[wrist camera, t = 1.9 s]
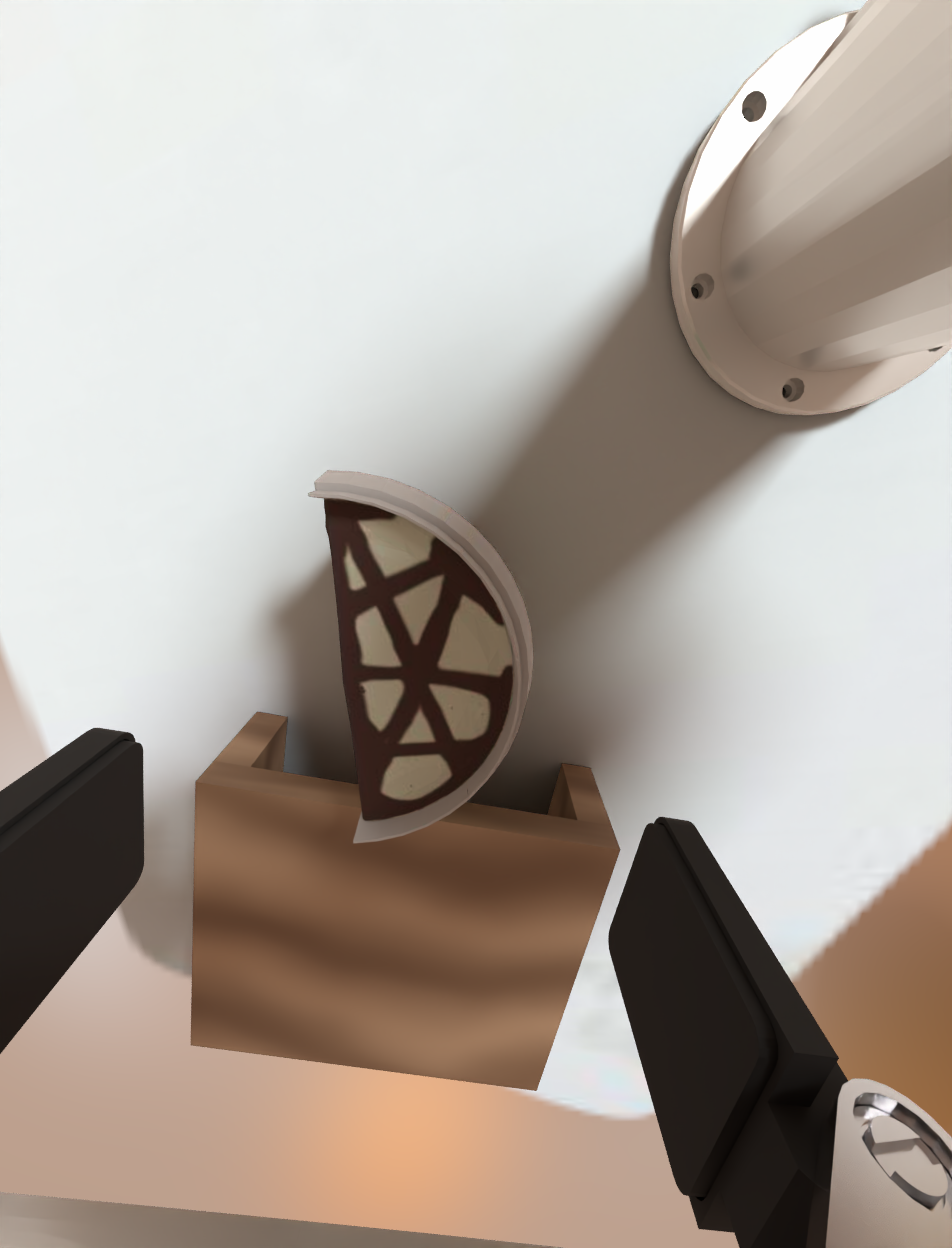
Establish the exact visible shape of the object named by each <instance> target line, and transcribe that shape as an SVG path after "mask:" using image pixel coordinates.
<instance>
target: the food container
mask: <svg viewBox="0 0 952 1248" xmlns="http://www.w3.org/2000/svg"><path fill="white" fill-rule="evenodd" d="M314 483H315V491H313V492H310V493H308V496H309V497H317V498H324V508H325V514H326V530H327V533H328V537H329V543H330V549H331V556H332V565H333V574H334V584H335V593H336V603H337V613H338V624H339V636H340V649H341V662H342V674H343V684H344V690H345V696H346V702H347V708H348V713H349V719H350V726H351V732H352V739H353V746H354V753H355V761H356V770H357V778H358V786H359V794H360V802H361V810H362V811H361V815H360V818H359V822H358V826H357V829H356V833H355V836H354V840H353V843H364V842H376V841H381V840H386V839H390V838H395V837H399V836H404V835H406V834H409V833H412V832H414V831H417V830H420V829H422V828H425V827H428V826H429V825H431V824H433V823H435V822H437V821H439V820H440V819H442V818H444V817H446V816H448V815H449V814H451V813H452V812H453V811H455V810H456V809H457V808H459V807H460V806H461V805H463V804H464V803H465V802H467V801H468V800H469V799H470V798H471V797H472V796H473V795H474V794H475V793H476V792H477V791H478V790H479V789H480V788H481V787H482V786H483V785H484V784H485V783H486V781H487V780H488V779H489V778H490V776H491V775H492V774H493V773H494V772H495V771H496V769H497V768H498V766H499V765H500V763H501V762H502V760H503V759H504V758H505V756H506V755H507V753H508V752H509V750H510V747H511V745H512V743H513V741H514V739H515V737H516V735H517V732H518V730H519V728H520V724H521V721H522V717H523V713H524V710H525V706H526V702H527V699H528V695H529V691H530V687H531V683H532V672H533V660H534V654H533V642H532V630H531V626H530V622H529V618H528V614H527V610H526V607H525V603H524V600H523V598H522V596H521V594H520V591H519V589H518V587H517V585H516V582H515V580H514V578H513V576H512V574H511V573H510V571H509V569H508V568H507V566H506V565H505V563H504V562H503V560H502V559H501V557H500V556H499V554H498V553H497V551H496V550H495V549H494V548H493V547H492V545H491V544H490V543H489V542H488V541H487V540H486V539H485V538H484V537H483V536H482V534H481V533H480V532H479V531H478V530H477V529H476V528H475V527H474V526H473V525H472V524H470V523H469V522H468V521H467V520H465V519H464V518H463V517H462V516H460V515H459V514H458V513H457V512H455V511H454V510H453V509H452V508H450V507H449V506H447V505H445V504H444V503H442V502H440V501H438V500H437V499H435V498H433V497H431V496H430V495H428V494H426V493H424V492H423V491H421V490H418V489H416V488H413V487H410V486H408V485H405V484H403V483H400V482H397V481H395V480H392V479H389V478H384V477H379V476H375V475H370V474H365V473H360V472H350V471H331V470H328V471H326V472H325V473H324V474H323V475H322V476H321V477H319V478H318V479H317V480H316V481H315V482H314Z"/></svg>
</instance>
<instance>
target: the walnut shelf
mask: <svg viewBox="0 0 952 1248" xmlns="http://www.w3.org/2000/svg"><path fill="white" fill-rule="evenodd" d="M287 718H288V717H285V716H279V715H273V714H267V713H262V712H256V713H255V715H254V716H253V717H252V718H251V719H250V720H249V721H248V723H247V724H246V725H245V726H244V727H243V728H242V729H241V731H240V732H239V733H238V734H237V735H236V736H235V737H234V739H233V740H232V741H231V742H230V743H229V744H228V745H227V747H226V748H225V749H224V750H223V751H222V752H221V753H220V755H219V756H218V757H217V758H216V759H215V760H214V761H213V763H212V764H211V765H210V766H209V767H208V768H207V769H206V771H205V772H204V773H203V774H202V775H201V776H200V777H199V779H198V780H197V781H196V788H195V842H194V896H193V950H192V1003H191V1005H192V1006H191V1045H193V1046H201V1047H209V1048H216V1049H224V1050H232V1051H239V1052H246V1053H254V1054H262V1055H269V1056H277V1057H284V1058H292V1059H299V1060H307V1061H315V1062H322V1063H330V1064H337V1065H345V1066H352V1067H360V1068H368V1069H375V1070H383V1071H391V1072H399V1073H406V1074H413V1075H421V1076H429V1077H436V1078H444V1079H451V1080H458V1081H466V1082H474V1083H481V1084H489V1085H496V1086H504V1087H512V1088H519V1089H527V1090H534V1091H537V1088H538V1085H539V1082H540V1079H541V1076H542V1074H543V1071H544V1068H545V1065H546V1062H547V1059H548V1056H549V1053H550V1051H551V1048H552V1045H553V1042H554V1039H555V1036H556V1033H557V1030H558V1028H559V1025H560V1022H561V1019H562V1016H563V1013H564V1010H565V1007H566V1004H567V1002H568V999H569V996H570V993H571V990H572V987H573V984H574V981H575V979H576V976H577V973H578V970H579V967H580V964H581V961H582V958H583V956H584V953H585V950H586V947H587V944H588V941H589V938H590V935H591V933H592V930H593V927H594V924H595V921H596V918H597V915H598V912H599V910H600V907H601V904H602V901H603V898H604V895H605V892H606V889H607V886H608V884H609V881H610V878H611V875H612V872H613V869H614V866H615V863H616V861H617V858H618V855H619V852H620V848H619V845H618V842H617V840H616V837H615V834H614V831H613V829H612V826H611V823H610V820H609V818H608V815H607V812H606V809H605V807H604V804H603V801H602V798H601V796H600V793H599V790H598V787H597V785H596V782H595V779H594V776H593V773H592V771H591V768H587V767H581V766H575V765H569V764H563V763H562V765H561V768H560V772H559V775H558V779H557V782H556V786H555V789H554V793H553V796H552V800H551V803H550V807H549V810H548V814H547V815H543V814H537V813H531V812H525V811H519V810H512V809H506V808H500V807H494V806H488V805H482V804H476V803H469V802H465V803H464V804H463V805H461V806H460V807H459V808H457V809H456V810H455V811H453V812H452V813H451V814H449V815H448V816H446V817H444V818H442V819H440V820H439V821H437V822H435V823H433V824H431V825H429V826H428V827H425V828H422V829H420V830H417V831H414V832H412V833H409V834H406V835H404V836H399V837H395V838H390V839H386V840H381V841H376V842H364V843H353V840H354V836H355V833H356V829H357V826H358V822H359V818H360V815H361V811H362V810H361V802H360V794H359V786H358V784H353V783H347V782H340V781H334V780H328V779H322V778H316V777H310V776H304V775H297V774H291V773H285V772H283V767H284V755H285V743H286V731H287Z"/></svg>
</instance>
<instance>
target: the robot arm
mask: <svg viewBox="0 0 952 1248" xmlns="http://www.w3.org/2000/svg"><path fill="white" fill-rule="evenodd" d="M743 116H744V117H746V119H747V121H746V120H745V119H744V117H743ZM670 272H671V288H672V296H673V300H674V304H675V308H676V313H677V317H678V321H679V325H680V327H681V329H682V332H683V334H684V336H685V338H686V340H687V342H688V345H689V347H690V349H691V351H692V353H693V355H694V356H695V357H696V359H697V360H698V361H699V363H700V364H701V365H702V367H703V368H704V370H705V371H706V372H707V374H708V375H709V376H710V377H711V378H712V379H713V380H714V381H716V382H717V383H718V384H719V385H720V386H721V387H722V388H724V389H725V390H726V391H727V392H728V393H729V394H731V395H733V396H734V397H736V398H738V399H740V400H742V401H744V402H746V403H748V404H749V405H751V406H753V407H756V408H760V409H763V410H767V411H771V412H774V413H778V414H788V415H815V414H824V413H834V412H839V411H843V410H847V409H851V408H855V407H859V406H863V405H866V404H868V403H871V402H873V401H875V400H877V399H879V398H882V397H884V396H886V395H888V394H891V393H893V392H895V391H897V390H898V389H900V388H901V387H903V386H904V385H906V384H907V383H909V382H910V381H912V380H913V379H915V378H916V377H918V376H919V375H921V374H923V373H924V372H925V371H926V370H928V369H929V368H930V367H931V366H932V365H933V364H934V363H936V362H937V361H938V360H939V359H940V358H941V357H943V356H944V355H945V354H946V353H947V352H948V351H949V350H950V349H951V348H952V0H868V1H867V2H866V3H865V4H864V6H863V7H862V8H861V9H860V10H855V11H850V12H845V13H843V14H841V15H838V16H836V17H834V18H831V19H829V20H827V21H824V22H822V23H820V24H817V25H815V26H813V27H810V28H809V29H807V30H806V31H804V32H803V33H801V34H800V35H798V36H797V37H795V38H794V39H793V40H791V41H790V42H788V43H787V44H785V45H784V46H782V47H781V48H779V49H778V50H776V51H775V52H774V53H773V54H772V55H771V56H770V57H769V58H768V59H767V60H766V61H765V62H764V63H763V64H762V65H761V66H760V67H759V68H758V69H757V70H756V71H755V72H754V73H753V74H752V75H751V76H750V77H749V78H747V79H746V80H745V82H744V83H743V84H742V86H741V87H740V88H739V89H738V91H737V92H736V93H735V95H734V96H733V97H732V99H731V100H730V101H729V103H728V104H727V105H726V107H725V108H724V109H723V111H722V112H721V113H720V115H719V117H718V118H717V120H716V121H715V123H714V125H713V126H712V128H711V129H710V131H709V133H708V134H707V136H706V137H705V139H704V141H703V142H702V144H701V145H700V147H699V149H698V151H697V154H696V156H695V158H694V161H693V163H692V165H691V168H690V170H689V172H688V175H687V177H686V179H685V182H684V184H683V187H682V191H681V195H680V199H679V203H678V206H677V210H676V214H675V218H674V222H673V231H672V241H671V251H670ZM691 287H695V288H697V289H698V291H699V297H698V298H697V299H696V298H694V297H693V294H692V292H691ZM783 387H784V388H785V390H786V394H785V396H784V397H783V395H782V390H783ZM143 866H144V801H143V747H142V745H141V744H140V743H137V742H135V738H134V736H133V735H132V734H131V733H128V732H122V731H115V730H109V729H103V728H93V729H91V730H89V731H87V732H86V733H84V734H83V735H81V736H80V737H78V738H77V739H75V740H74V741H73V742H71V743H70V744H68V745H67V746H65V747H64V748H62V749H61V750H60V751H58V752H57V753H55V754H54V755H52V756H51V757H49V758H48V759H47V760H45V761H44V762H42V763H41V764H39V765H38V766H36V767H35V768H34V769H32V770H31V771H29V772H28V773H26V774H25V775H23V776H22V777H20V778H19V779H18V780H16V781H15V782H13V783H12V784H10V785H9V786H8V787H6V788H5V789H3V790H2V791H0V1054H1V1052H2V1051H3V1050H4V1049H5V1047H6V1046H7V1045H8V1044H9V1042H10V1041H11V1040H12V1039H13V1037H14V1036H15V1035H16V1034H17V1032H18V1031H19V1030H20V1029H21V1027H22V1026H23V1024H25V1022H26V1021H27V1020H28V1019H29V1017H30V1016H31V1015H32V1014H33V1012H34V1011H35V1010H36V1009H37V1007H38V1006H39V1005H40V1004H41V1002H42V1001H43V1000H44V999H45V997H46V996H47V995H48V994H49V992H50V991H51V990H52V989H53V987H54V986H55V985H56V984H57V982H58V981H59V980H60V979H61V977H62V976H63V975H64V974H65V972H66V971H67V970H68V969H69V967H70V966H71V965H72V964H73V962H74V961H75V960H76V959H77V957H78V956H79V955H80V954H81V952H82V951H83V950H84V949H85V947H86V946H87V945H88V944H89V942H90V941H91V940H92V939H93V937H94V936H95V935H96V934H97V933H98V931H99V930H100V929H101V928H102V926H103V925H104V924H105V923H106V921H107V920H108V919H109V918H110V916H111V915H112V914H113V913H114V911H115V910H116V909H117V908H118V906H119V905H120V904H121V903H122V901H123V900H124V899H125V898H126V896H127V895H128V894H129V893H130V891H131V890H132V889H133V888H134V886H135V885H136V883H137V882H138V880H139V878H140V876H141V873H142V870H143ZM609 950H610V955H611V958H612V962H613V965H614V969H615V972H616V976H617V979H618V983H619V986H620V990H621V993H622V997H623V1000H624V1004H625V1007H626V1011H627V1014H628V1018H629V1021H630V1025H631V1028H632V1032H633V1035H634V1039H635V1042H636V1046H637V1050H638V1053H639V1057H640V1060H641V1064H642V1067H643V1071H644V1074H645V1078H646V1081H647V1085H648V1088H649V1092H650V1095H651V1099H652V1102H653V1106H654V1109H655V1113H656V1116H657V1120H658V1123H659V1127H660V1130H661V1134H662V1137H663V1141H664V1144H665V1147H666V1151H667V1155H668V1158H669V1162H670V1165H671V1168H672V1172H673V1176H674V1178H675V1182H676V1184H677V1186H678V1188H679V1190H680V1191H681V1192H682V1194H683V1195H688V1196H689V1198H690V1202H691V1205H692V1208H693V1212H694V1215H695V1218H696V1221H697V1225H698V1228H699V1229H706V1230H715V1231H726V1232H734V1233H735V1235H736V1239H737V1241H738V1244H739V1247H740V1248H952V1137H951V1136H950V1135H948V1133H947V1132H946V1131H945V1130H944V1129H943V1128H942V1127H941V1126H940V1125H939V1124H938V1123H937V1122H936V1121H935V1120H934V1119H933V1118H932V1117H931V1116H930V1115H929V1114H927V1113H926V1112H925V1111H923V1110H922V1109H921V1108H919V1107H918V1106H917V1105H916V1104H915V1103H913V1102H912V1101H911V1100H910V1099H908V1098H907V1097H905V1096H903V1095H902V1094H900V1093H898V1092H897V1091H895V1090H893V1089H892V1088H890V1087H888V1086H886V1085H884V1084H881V1083H877V1082H875V1081H872V1080H869V1079H852V1080H850V1081H848V1080H847V1078H846V1077H845V1075H844V1073H843V1072H842V1070H841V1068H840V1067H839V1065H838V1063H837V1060H838V1059H839V1058H838V1056H837V1054H836V1053H835V1051H834V1050H833V1048H832V1046H831V1045H830V1043H829V1042H828V1040H827V1038H826V1037H825V1035H824V1033H823V1032H822V1030H821V1029H820V1027H819V1026H818V1024H817V1022H816V1021H815V1019H814V1017H813V1016H812V1014H811V1012H810V1011H809V1009H808V1008H807V1006H806V1005H805V1003H804V1001H803V1000H802V998H801V996H800V995H799V993H798V992H797V990H796V988H795V987H794V985H793V983H792V982H791V980H790V979H789V977H788V975H787V974H786V972H785V971H784V969H783V967H782V966H781V964H780V963H779V961H778V959H777V958H776V956H775V954H774V953H773V951H772V950H771V948H770V946H769V945H768V943H767V942H766V940H765V938H764V937H763V935H762V934H761V932H760V930H759V929H758V927H757V925H756V924H755V922H754V921H753V919H752V917H751V916H750V914H749V913H748V911H747V909H746V908H745V906H744V904H743V903H742V901H741V900H740V898H739V896H738V895H737V893H736V892H735V890H734V888H733V887H732V885H731V884H730V882H729V880H728V879H727V877H726V875H725V874H724V872H723V871H722V869H721V867H720V866H719V864H718V863H717V861H716V859H715V858H714V856H713V855H712V853H711V851H710V850H709V848H708V846H707V845H706V843H705V842H704V840H703V838H702V837H701V835H700V834H699V832H698V830H697V829H696V827H695V826H694V825H693V823H692V822H689V821H685V820H679V819H672V818H666V817H659V818H657V819H656V821H655V823H654V824H653V823H649V824H648V825H647V826H646V828H645V830H644V833H643V835H642V838H641V841H640V844H639V847H638V850H637V853H636V855H635V858H634V861H633V864H632V867H631V870H630V873H629V875H628V878H627V881H626V884H625V887H624V890H623V892H622V895H621V898H620V901H619V904H618V907H617V910H616V912H615V915H614V918H613V921H612V924H611V927H610V930H609ZM0 1248H561V1247H551V1246H542V1245H532V1244H523V1243H514V1242H503V1241H495V1240H484V1239H475V1238H466V1237H456V1236H446V1235H438V1234H428V1233H417V1232H408V1231H398V1230H387V1229H378V1228H368V1227H358V1226H347V1225H338V1224H328V1223H318V1222H308V1221H298V1220H288V1219H278V1218H267V1217H257V1216H247V1215H237V1214H227V1213H216V1212H206V1211H196V1210H185V1209H175V1208H165V1207H155V1206H144V1205H133V1204H122V1203H111V1202H101V1201H89V1200H77V1199H68V1198H57V1197H46V1196H36V1195H25V1194H14V1193H3V1192H0Z"/></svg>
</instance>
